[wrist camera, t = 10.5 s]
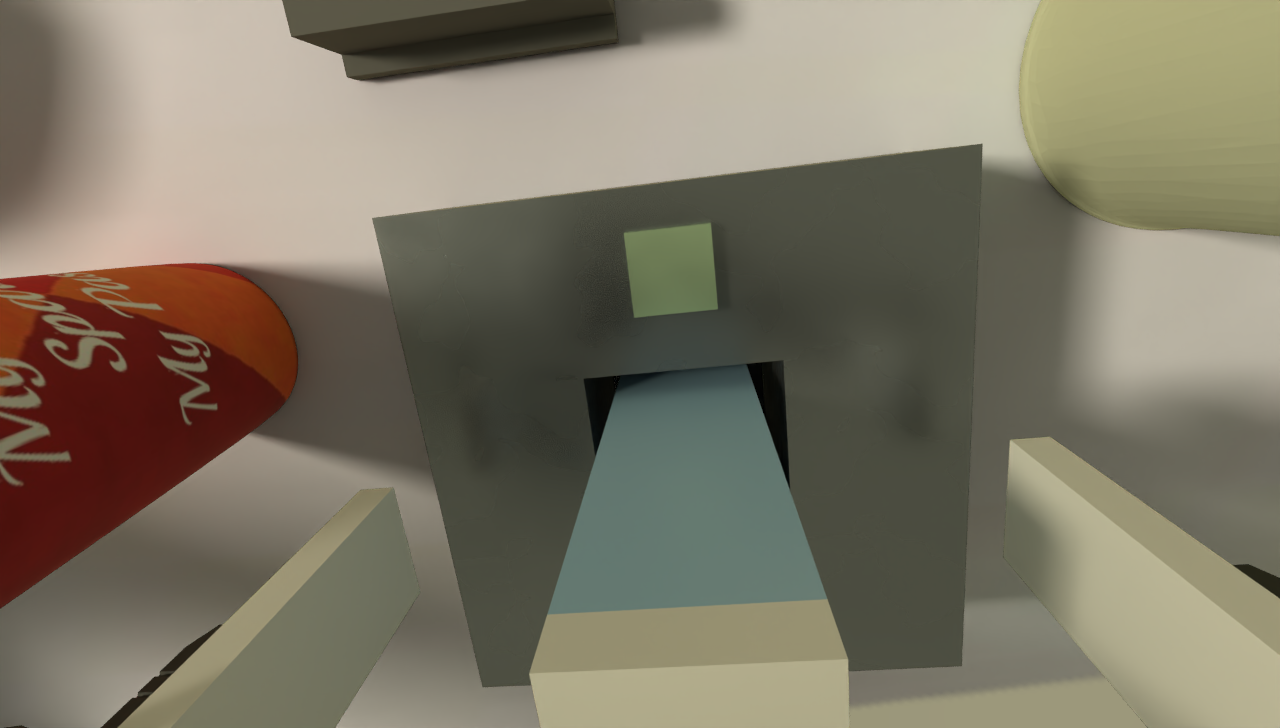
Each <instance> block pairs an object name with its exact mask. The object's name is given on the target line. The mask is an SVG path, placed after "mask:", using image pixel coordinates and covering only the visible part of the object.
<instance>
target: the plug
mask: <svg viewBox="0 0 1280 728" xmlns="http://www.w3.org/2000/svg"><path fill="white" fill-rule="evenodd" d="M529 675H530V680H531V685H532V690H533V695H534V699H535V704H536V709H537V714H538V719H539V723H540V728H850V716H849V675H848V657H847V654H846V652H845V649H844V646H843V643H842V640H841V637H840V634H839V631H838V628H837V626H836V623H835V620H834V617H833V614H832V611H831V608H830V605H829V602H828V599H827V597H826V594H825V591H824V588H823V585H822V582H821V579H820V576H819V573H818V570H817V568H816V565H815V562H814V559H813V556H812V553H811V550H810V547H809V544H808V541H807V539H806V536H805V533H804V530H803V527H802V524H801V521H800V518H799V515H798V512H797V510H796V507H795V504H794V501H793V498H792V495H791V492H790V489H789V486H788V484H787V481H786V478H785V475H784V472H783V469H782V466H781V463H780V460H779V457H778V455H777V452H776V449H775V446H774V443H773V440H772V437H771V434H770V431H769V428H768V426H767V423H766V420H765V417H764V414H763V411H762V408H761V405H760V402H759V399H758V397H757V394H756V391H755V388H754V385H753V382H752V379H751V376H750V373H749V371H748V368H747V365H746V364H737V365H727V366H716V367H705V368H694V369H683V370H672V371H661V372H651V373H640V374H629V375H621V376H620V380H619V383H618V386H617V389H616V393H615V396H614V399H613V402H612V406H611V409H610V412H609V415H608V419H607V422H606V425H605V428H604V432H603V435H602V438H601V441H600V445H599V448H598V451H597V454H596V458H595V461H594V464H593V467H592V471H591V474H590V477H589V480H588V484H587V487H586V490H585V493H584V497H583V500H582V503H581V506H580V510H579V513H578V516H577V520H576V523H575V526H574V529H573V533H572V536H571V539H570V542H569V546H568V549H567V552H566V555H565V559H564V562H563V565H562V568H561V572H560V575H559V578H558V581H557V585H556V588H555V591H554V594H553V598H552V601H551V604H550V607H549V611H548V614H547V617H546V620H545V624H544V627H543V630H542V633H541V637H540V640H539V643H538V646H537V650H536V653H535V656H534V659H533V663H532V666H531V669H530V673H529Z"/></svg>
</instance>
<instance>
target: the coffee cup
mask: <svg viewBox="0 0 1280 728" xmlns="http://www.w3.org/2000/svg"><path fill="white" fill-rule="evenodd" d="M297 371H298V355H297V348H296V343H295V339H294V336H293V333H292V331H291V328H290V326H289V324H288V322H287V320H286V318H285V317H284V315H283V313H282V312H281V310H280V309H279V307H278V306H277V305H276V304H275V302H274V301H273V300H272V299H271V298H270V297H269V296H268V295H267V294H266V293H265V292H264V291H263V290H262V289H261V288H260V287H258V286H257V285H256V284H254V283H253V282H252V281H250V280H249V279H247V278H245V277H244V276H242V275H240V274H238V273H236V272H234V271H231V270H229V269H226V268H223V267H219V266H215V265H209V264H197V263H185V264H165V265H151V266H137V267H126V268H115V269H104V270H92V271H81V272H70V273H59V274H49V275H38V276H27V277H17V278H6V279H0V608H2V607H3V606H5V605H6V604H8V603H9V602H10V601H12V600H13V599H15V598H16V597H18V596H19V595H20V594H22V593H23V592H25V591H26V590H28V589H29V588H30V587H32V586H33V585H35V584H36V583H38V582H39V581H41V580H42V579H43V578H45V577H46V576H48V575H49V574H51V573H52V572H53V571H55V570H56V569H58V568H59V567H61V566H62V565H63V564H65V563H66V562H68V561H69V560H71V559H72V558H73V557H75V556H76V555H78V554H79V553H81V552H82V551H83V550H85V549H86V548H88V547H89V546H91V545H92V544H93V543H95V542H96V541H98V540H99V539H101V538H102V537H103V536H105V535H106V534H108V533H109V532H111V531H112V530H113V529H115V528H116V527H118V526H119V525H121V524H122V523H123V522H125V521H126V520H128V519H129V518H131V517H132V516H133V515H135V514H136V513H138V512H139V511H140V510H142V509H143V508H145V507H146V506H148V505H149V504H150V503H152V502H153V501H155V500H156V499H158V498H159V497H160V496H162V495H163V494H165V493H166V492H168V491H169V490H170V489H172V488H173V487H175V486H176V485H177V484H179V483H180V482H182V481H183V480H185V479H186V478H187V477H189V476H190V475H192V474H193V473H194V472H196V471H197V470H199V469H200V468H202V467H203V466H204V465H206V464H207V463H209V462H210V461H211V460H213V459H214V458H216V457H217V456H218V455H220V454H221V453H223V452H224V451H225V450H227V449H228V448H230V447H231V446H232V445H234V444H235V443H237V442H238V441H239V440H241V439H242V438H243V437H245V436H246V435H247V434H249V433H250V432H252V431H253V430H254V429H256V428H257V427H258V426H260V425H261V424H262V423H263V422H265V421H266V420H267V419H268V418H270V417H271V416H272V415H273V414H274V413H276V412H277V411H278V410H279V409H280V408H281V407H282V405H283V404H284V403H285V402H286V400H287V399H288V397H289V396H290V394H291V392H292V390H293V387H294V385H295V381H296V377H297Z"/></svg>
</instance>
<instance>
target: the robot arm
mask: <svg viewBox="0 0 1280 728" xmlns="http://www.w3.org/2000/svg"><path fill="white" fill-rule="evenodd" d="M1003 558H1004V559H1005V560H1006V561H1007V562H1008V563H1009V565H1010V566H1011V567H1012V568H1013V569H1014V571H1015V572H1016V573H1017V574H1018V575H1019V576H1020V578H1021V579H1022V580H1023V581H1024V582H1025V584H1026V585H1027V586H1028V587H1029V588H1030V589H1031V591H1032V592H1033V593H1034V594H1035V595H1036V597H1037V598H1038V599H1039V600H1040V601H1041V602H1042V604H1043V605H1044V606H1045V607H1046V608H1047V610H1048V611H1049V612H1050V613H1051V614H1052V615H1053V617H1054V618H1055V619H1056V620H1057V621H1058V623H1059V624H1060V625H1061V626H1062V627H1063V628H1064V630H1065V631H1066V632H1067V633H1068V634H1069V636H1070V637H1071V638H1072V639H1073V640H1074V641H1075V643H1076V644H1077V645H1078V646H1079V647H1080V649H1081V650H1082V651H1083V652H1084V653H1085V654H1086V656H1087V657H1088V658H1089V659H1090V660H1091V662H1092V663H1093V664H1094V665H1095V666H1096V667H1097V669H1098V670H1099V671H1100V672H1101V673H1102V675H1103V676H1104V677H1105V678H1106V679H1107V680H1108V682H1110V684H1111V685H1112V686H1113V687H1114V689H1115V690H1116V691H1117V692H1118V693H1119V695H1120V696H1121V697H1122V698H1123V699H1124V700H1125V702H1126V703H1127V704H1128V705H1129V706H1130V708H1131V709H1132V710H1133V711H1134V712H1135V713H1136V715H1137V716H1138V717H1139V718H1140V719H1141V721H1142V722H1143V723H1144V724H1145V725H1146V726H1147V728H1280V578H1278V577H1276V576H1274V575H1271V574H1269V573H1267V572H1265V571H1262V570H1260V569H1258V568H1256V567H1253V566H1251V565H1249V564H1245V565H1231V564H1230V563H1228V562H1227V561H1226V560H1224V559H1223V558H1221V557H1220V556H1219V555H1217V554H1216V553H1214V552H1213V551H1211V550H1210V549H1209V548H1207V547H1206V546H1204V545H1203V544H1201V543H1200V542H1199V541H1197V540H1196V539H1194V538H1193V537H1192V536H1190V535H1189V534H1187V533H1186V532H1184V531H1183V530H1182V529H1180V528H1179V527H1177V526H1176V525H1175V524H1173V523H1172V522H1170V521H1169V520H1167V519H1166V518H1165V517H1163V516H1162V515H1160V514H1159V513H1158V512H1156V511H1155V510H1153V509H1152V508H1150V507H1149V506H1148V505H1146V504H1145V503H1143V502H1142V501H1140V500H1139V499H1138V498H1136V497H1135V496H1133V495H1132V494H1131V493H1129V492H1128V491H1126V490H1125V489H1123V488H1122V487H1121V486H1119V485H1118V484H1116V483H1115V482H1114V481H1112V480H1111V479H1109V478H1108V477H1106V476H1105V475H1104V474H1102V473H1101V472H1099V471H1098V470H1097V469H1095V468H1094V467H1092V466H1091V465H1089V464H1088V463H1087V462H1085V461H1084V460H1082V459H1081V458H1079V457H1078V456H1077V455H1075V454H1074V453H1072V452H1071V451H1070V450H1068V449H1067V448H1065V447H1064V446H1062V445H1061V444H1060V443H1058V442H1057V441H1055V440H1054V439H1053V438H1051V437H1039V438H1026V439H1013V440H1010V449H1009V466H1008V483H1007V500H1006V516H1005V533H1004V550H1003ZM419 593H420V589H419V585H418V581H417V577H416V573H415V569H414V566H413V562H412V558H411V554H410V550H409V546H408V542H407V538H406V535H405V531H404V527H403V523H402V519H401V515H400V511H399V507H398V503H397V500H396V496H395V492H394V488H393V487H392V488H379V489H367V490H360V491H359V492H358V493H357V494H356V495H355V496H354V497H353V498H352V499H351V500H350V501H349V502H348V503H347V504H346V505H345V506H344V507H343V508H342V509H341V510H340V511H339V512H338V513H337V514H336V515H335V516H334V517H333V518H332V519H331V520H330V521H329V522H328V523H327V524H325V525H324V526H323V527H322V528H321V529H320V530H319V531H318V532H317V533H316V534H315V535H314V536H313V537H312V538H311V539H310V540H309V541H308V542H307V543H306V544H305V545H304V546H303V547H302V548H301V549H300V550H299V551H298V552H297V553H296V554H295V555H294V556H293V557H292V558H291V559H290V560H289V561H288V562H287V563H286V564H285V565H284V566H283V567H281V568H280V569H279V570H278V571H277V572H276V573H275V574H274V575H273V576H272V577H271V578H270V579H269V580H268V581H267V582H266V583H265V584H264V585H263V586H262V587H261V588H260V589H259V590H258V591H257V592H256V593H255V594H254V595H253V596H252V597H251V598H250V599H249V600H248V601H247V602H246V603H245V604H244V605H243V606H242V607H241V608H240V609H238V610H237V611H236V612H235V613H234V614H233V615H232V616H231V617H230V618H229V619H228V620H227V621H226V622H225V623H224V624H223V625H218V626H217V627H215V628H214V629H212V630H211V631H209V632H208V633H206V634H205V635H203V636H202V637H200V638H199V639H197V640H196V641H194V642H193V643H191V644H190V645H188V646H187V647H185V648H184V649H183V650H182V651H181V652H180V653H179V654H178V655H177V656H176V657H175V658H174V659H173V660H172V661H171V662H170V663H169V664H168V665H166V666H165V667H164V668H163V669H162V670H161V671H160V675H159V676H158V677H154V678H153V679H152V680H151V681H150V682H149V683H148V684H146V685H145V686H144V687H143V688H142V689H141V690H140V691H139V692H138V696H137V698H132V699H131V700H130V701H129V702H127V703H126V704H125V705H124V706H123V707H122V708H121V709H120V710H119V711H118V712H117V713H116V714H115V715H114V716H113V717H112V718H111V719H110V720H109V721H107V722H106V723H105V724H104V725H103V726H102V727H101V728H335V727H336V725H337V724H338V722H339V721H340V719H341V717H342V716H343V714H344V713H345V711H346V709H347V708H348V706H349V705H350V703H351V701H352V700H353V698H354V697H355V695H356V694H357V692H358V690H359V689H360V687H361V686H362V684H363V682H364V681H365V679H366V678H367V676H368V674H369V673H370V671H371V670H372V668H373V666H374V665H375V663H376V662H377V660H378V659H379V657H380V655H381V654H382V652H383V651H384V649H385V647H386V646H387V644H388V643H389V641H390V639H391V638H392V636H393V635H394V633H395V631H396V630H397V628H398V627H399V625H400V624H401V622H402V620H403V619H404V617H405V616H406V614H407V612H408V611H409V609H410V608H411V606H412V604H413V603H414V601H415V600H416V598H417V596H418V595H419ZM6 728H27V727H24V726H22V725H21V726H14V727H6Z"/></svg>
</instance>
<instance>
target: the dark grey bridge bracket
mask: <svg viewBox="0 0 1280 728" xmlns="http://www.w3.org/2000/svg"><path fill="white" fill-rule="evenodd" d="M282 1H283V5H284V9H285V13H286V17H287V21H288V25H289V29H290V33H291V37H294V38H297V39H300V40H302V41H305V42H308V43H311V44H314V45H316V46H319V47H322V48H325V49H327V50H330V51H333V52H336V53H339V54H341V55H342V58H343V62H344V67H345V71H346V75H347V77H348V78H352V79H355V80H362V79H369V78H376V77H383V76H390V75H397V74H403V73H410V72H417V71H424V70H431V69H438V68H445V67H452V66H459V65H466V64H473V63H479V62H486V61H493V60H500V59H507V58H514V57H521V56H528V55H535V54H542V53H549V52H555V51H562V50H569V49H576V48H583V47H590V46H597V45H604V44H611V43H618V42H619V39H618V31H617V22H616V13H615V4H614V0H282Z"/></svg>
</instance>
